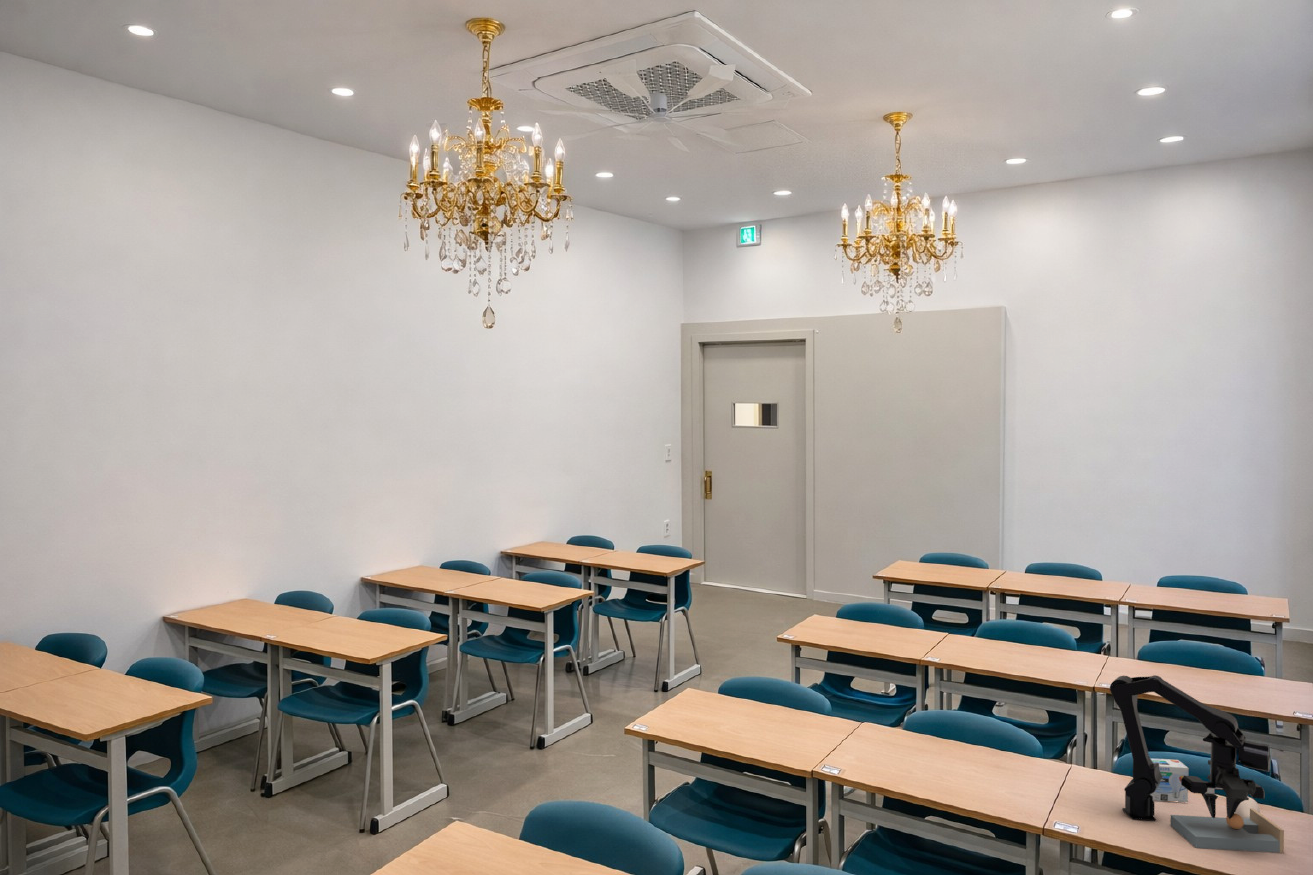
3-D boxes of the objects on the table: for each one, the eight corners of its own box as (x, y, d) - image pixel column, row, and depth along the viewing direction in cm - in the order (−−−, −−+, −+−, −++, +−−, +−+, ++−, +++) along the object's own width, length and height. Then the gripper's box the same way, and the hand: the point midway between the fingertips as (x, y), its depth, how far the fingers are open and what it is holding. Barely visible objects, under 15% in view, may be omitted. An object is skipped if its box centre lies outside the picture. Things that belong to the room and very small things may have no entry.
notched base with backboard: (1195, 847, 222) (1195, 825, 222) (1170, 825, 234) (1170, 804, 235) (1283, 852, 219) (1283, 829, 219) (1253, 829, 232) (1253, 808, 232)
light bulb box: (1151, 801, 250) (1151, 765, 250) (1141, 791, 257) (1141, 757, 257) (1189, 803, 249) (1189, 767, 249) (1178, 794, 256) (1178, 759, 256)
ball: (1228, 824, 225) (1238, 813, 225) (1219, 817, 229) (1230, 807, 229) (1239, 834, 225) (1250, 824, 224) (1231, 827, 229) (1241, 817, 228)
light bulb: (1264, 816, 230) (1255, 790, 240) (1236, 815, 233) (1228, 790, 243) (1268, 836, 231) (1259, 810, 241) (1240, 835, 234) (1232, 810, 244)
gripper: (1203, 768, 220) (1201, 828, 220) (1278, 774, 218) (1276, 834, 218) (1181, 754, 231) (1179, 810, 231) (1252, 759, 229) (1251, 816, 229)
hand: (1221, 818), depth 227 cm, fingers open, 4 cm apart
